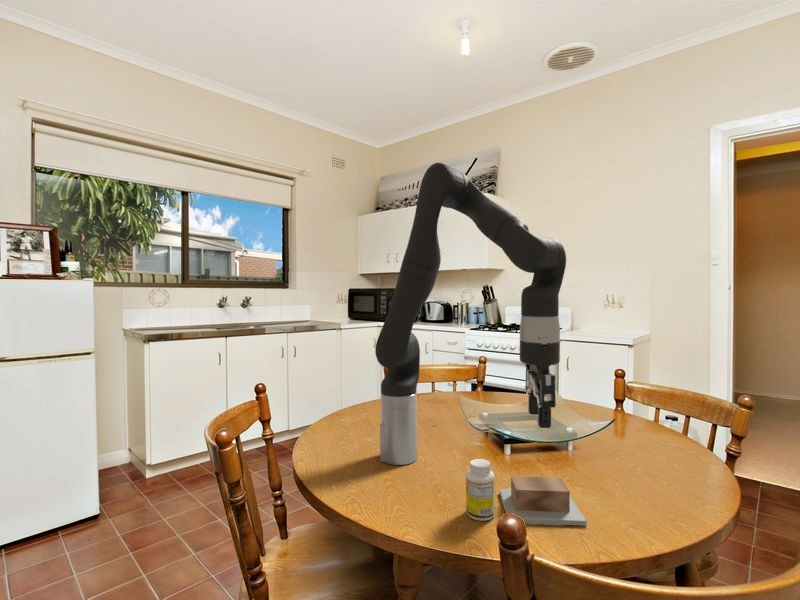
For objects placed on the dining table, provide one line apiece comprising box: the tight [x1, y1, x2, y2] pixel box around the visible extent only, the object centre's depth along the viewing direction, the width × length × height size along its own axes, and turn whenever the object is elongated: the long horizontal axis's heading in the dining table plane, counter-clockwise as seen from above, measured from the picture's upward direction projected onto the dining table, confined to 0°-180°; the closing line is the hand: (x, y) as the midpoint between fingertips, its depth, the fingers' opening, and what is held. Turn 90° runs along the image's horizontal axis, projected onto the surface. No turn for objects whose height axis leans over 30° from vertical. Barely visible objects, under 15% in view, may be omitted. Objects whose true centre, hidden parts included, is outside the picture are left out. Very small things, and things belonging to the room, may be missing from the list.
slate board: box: [499, 488, 588, 527], centre depth 86 cm, size 14×12×1 cm
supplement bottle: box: [465, 458, 496, 522], centre depth 84 cm, size 6×6×10 cm
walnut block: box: [510, 476, 571, 512], centre depth 86 cm, size 10×6×4 cm, turn 85°
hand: (539, 420), depth 86 cm, fingers open, 8 cm apart
